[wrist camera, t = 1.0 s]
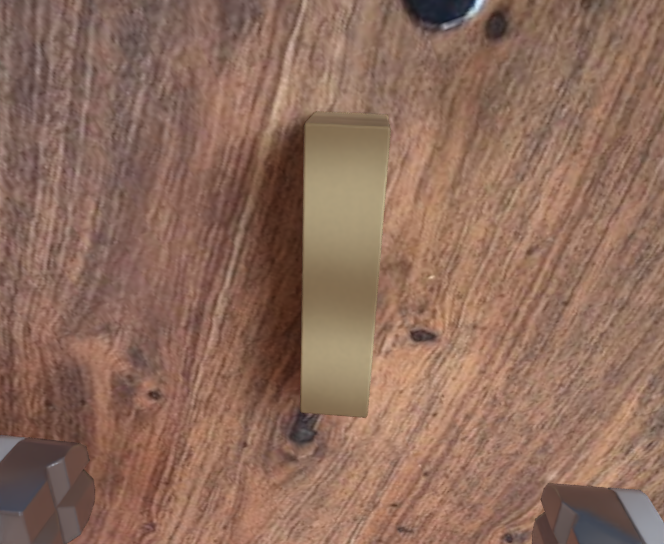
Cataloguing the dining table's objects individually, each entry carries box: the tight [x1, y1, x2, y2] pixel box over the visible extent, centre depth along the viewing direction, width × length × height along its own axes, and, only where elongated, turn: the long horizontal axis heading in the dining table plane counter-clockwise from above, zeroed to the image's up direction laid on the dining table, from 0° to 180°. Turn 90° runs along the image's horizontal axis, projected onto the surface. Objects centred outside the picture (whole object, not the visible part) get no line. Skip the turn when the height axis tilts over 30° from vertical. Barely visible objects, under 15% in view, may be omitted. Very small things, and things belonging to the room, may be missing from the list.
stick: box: [300, 111, 391, 418], centre depth 17 cm, size 10×2×3 cm, turn 178°
